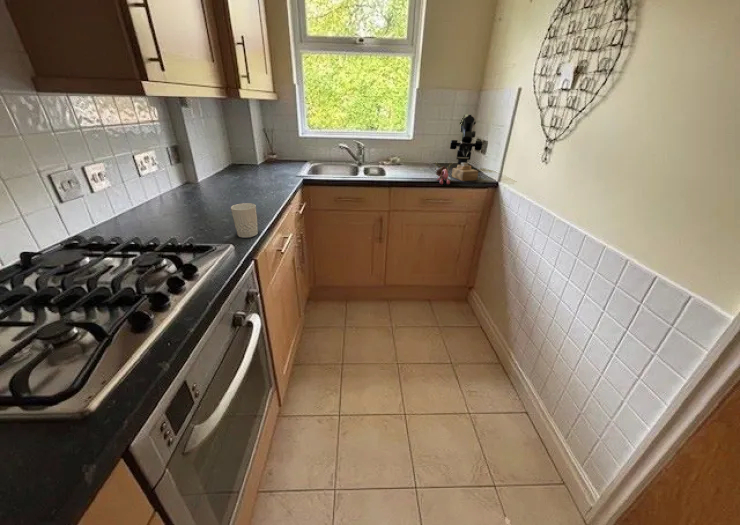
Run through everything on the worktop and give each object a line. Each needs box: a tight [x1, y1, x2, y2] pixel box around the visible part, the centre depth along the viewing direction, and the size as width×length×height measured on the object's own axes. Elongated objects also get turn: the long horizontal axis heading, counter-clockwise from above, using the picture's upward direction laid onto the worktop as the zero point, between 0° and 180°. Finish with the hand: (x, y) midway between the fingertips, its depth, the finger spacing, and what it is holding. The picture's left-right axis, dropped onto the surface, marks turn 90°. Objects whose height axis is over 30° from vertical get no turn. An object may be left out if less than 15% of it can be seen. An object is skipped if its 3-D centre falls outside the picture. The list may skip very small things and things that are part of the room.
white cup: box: [230, 202, 259, 239], centre depth 113 cm, size 8×8×10 cm
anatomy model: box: [434, 161, 454, 185], centre depth 186 cm, size 10×14×15 cm
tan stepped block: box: [451, 164, 479, 182], centre depth 196 cm, size 12×10×7 cm
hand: (465, 156), depth 199 cm, fingers closed
